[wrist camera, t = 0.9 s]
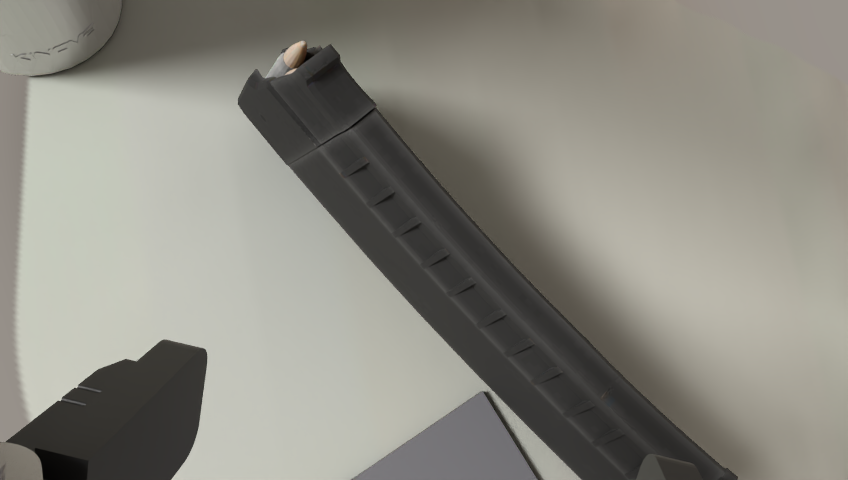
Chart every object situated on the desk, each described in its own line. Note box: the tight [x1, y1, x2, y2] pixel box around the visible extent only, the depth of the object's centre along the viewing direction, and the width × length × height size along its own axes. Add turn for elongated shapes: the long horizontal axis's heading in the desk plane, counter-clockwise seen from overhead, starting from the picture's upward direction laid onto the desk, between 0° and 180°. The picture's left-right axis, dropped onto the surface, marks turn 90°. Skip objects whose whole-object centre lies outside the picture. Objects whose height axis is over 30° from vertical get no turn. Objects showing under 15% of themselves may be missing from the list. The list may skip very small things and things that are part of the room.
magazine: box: [238, 41, 738, 480], centre depth 31 cm, size 17×3×30 cm
